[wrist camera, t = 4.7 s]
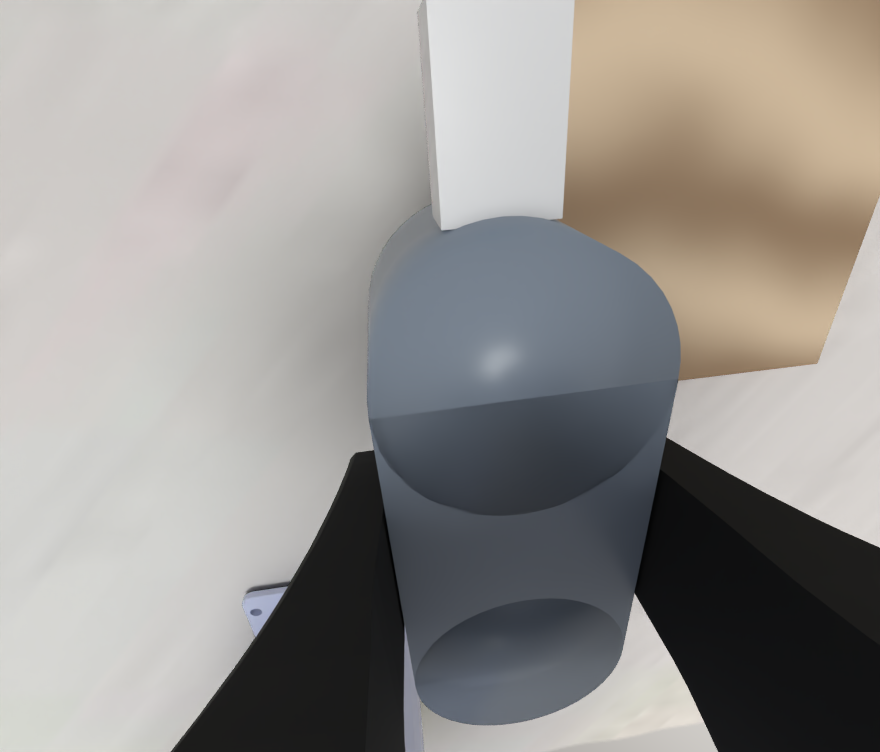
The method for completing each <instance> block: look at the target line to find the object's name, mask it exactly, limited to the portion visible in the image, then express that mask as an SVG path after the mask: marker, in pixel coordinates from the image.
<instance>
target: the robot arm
mask: <svg viewBox="0 0 880 752" xmlns="http://www.w3.org/2000/svg"><path fill="white" fill-rule="evenodd" d="M634 593H635V595H636V596H637V598H638V600H639V602H640V603H641V605H642V607H643V608H644V610H645V612H646V614H647V615H648V617H649V619H650V620H651V622H652V624H653V626H654V627H655V629H656V631H657V632H658V634H659V636H660V638H661V639H662V641H663V643H664V645H665V646H666V648H667V650H668V651H669V653H670V655H671V657H672V658H673V660H674V662H675V664H676V666H677V668H678V670H679V671H680V673H681V675H682V677H683V679H684V681H685V683H686V685H687V686H688V688H689V691H690V693H691V695H692V697H693V699H694V701H695V703H696V705H697V708H698V710H699V712H700V714H701V716H702V718H703V720H704V723H705V725H706V727H707V729H708V731H709V733H710V735H711V737H712V739H713V742H714V744H715V746H716V748H717V750H718V752H880V548H879V547H877V546H875V545H872V544H870V543H868V542H866V541H863V540H861V539H859V538H857V537H854V536H852V535H850V534H848V533H845V532H843V531H841V530H839V529H837V528H834V527H832V526H830V525H828V524H826V523H824V522H822V521H820V520H818V519H816V518H813V517H811V516H809V515H807V514H805V513H804V512H802V511H800V510H798V509H796V508H794V507H792V506H790V505H788V504H786V503H784V502H782V501H780V500H778V499H776V498H774V497H772V496H770V495H768V494H766V493H764V492H762V491H761V490H759V489H757V488H755V487H753V486H751V485H749V484H747V483H746V482H744V481H742V480H740V479H738V478H737V477H735V476H733V475H731V474H729V473H727V472H726V471H724V470H722V469H720V468H719V467H717V466H715V465H713V464H711V463H710V462H708V461H706V460H704V459H703V458H701V457H699V456H697V455H696V454H694V453H692V452H691V451H689V450H687V449H685V448H684V447H682V446H680V445H678V444H677V443H675V442H673V441H672V440H670V439H668V438H666V441H665V446H664V451H663V456H662V461H661V465H660V470H659V475H658V480H657V485H656V490H655V495H654V499H653V504H652V509H651V514H650V519H649V524H648V529H647V533H646V538H645V543H644V548H643V553H642V558H641V563H640V567H639V572H638V577H637V582H636V587H635V592H634ZM242 606H243V609H244V611H245V614H246V616H247V618H248V621H249V623H250V626H251V628H252V630H253V633H254V635H255V639H254V640H253V642H252V643H251V645H250V646H249V648H248V649H247V650H246V652H245V653H244V655H243V656H242V658H241V659H240V661H239V662H238V663H237V665H236V666H235V668H234V669H233V670H232V672H231V673H230V674H229V676H228V677H227V678H226V680H225V681H224V682H223V684H222V685H221V687H220V688H219V689H218V691H217V692H216V693H215V695H214V696H213V697H212V699H211V700H210V701H209V703H208V704H207V706H206V707H205V708H204V710H203V711H202V712H201V714H200V715H199V716H198V718H197V719H196V720H195V721H194V723H193V724H192V725H191V727H190V728H189V729H188V730H187V732H186V733H185V734H184V736H183V737H182V738H181V739H180V741H179V742H178V743H177V744H176V746H175V747H174V748H173V750H172V751H171V752H424V742H423V730H422V718H421V706H420V697H419V696H418V694H417V690H416V687H415V681H414V675H413V670H412V664H411V658H410V653H409V647H408V641H407V635H406V630H405V624H404V618H403V612H402V607H401V601H400V595H399V589H398V584H397V578H396V572H395V567H394V561H393V555H392V549H391V544H390V538H389V532H388V526H387V521H386V515H385V509H384V504H383V498H382V492H381V486H380V481H379V475H378V469H377V463H376V458H375V452H374V450H373V451H365V452H358V453H355V454H354V455H353V457H352V458H351V459H350V462H349V465H348V468H347V471H346V473H345V476H344V478H343V481H342V483H341V485H340V488H339V490H338V492H337V495H336V497H335V499H334V501H333V503H332V506H331V508H330V510H329V512H328V514H327V516H326V518H325V520H324V522H323V524H322V526H321V528H320V530H319V532H318V534H317V536H316V538H315V540H314V542H313V543H312V545H311V547H310V549H309V551H308V553H307V554H306V556H305V558H304V560H303V561H302V563H301V565H300V566H299V568H298V570H297V572H296V573H295V575H294V577H293V578H292V580H291V582H290V584H289V585H288V586H286V587H280V588H273V589H267V590H260V591H253V592H250V593H247V594H246V595H245V596H244V599H243V602H242Z"/></svg>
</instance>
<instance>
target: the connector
mask: <svg viewBox="0 0 880 752" xmlns="http://www.w3.org/2000/svg"><path fill="white" fill-rule="evenodd" d="M574 4H575V0H422V3H421V5H420V7H419V10H418V12H417V14H418V27H419V41H420V54H421V67H422V81H423V94H424V108H425V121H426V134H427V148H428V161H429V175H430V188H431V201H432V204H431V205H429V206H427V207H425V208H423V209H422V210H420V211H419V212H417V213H416V214H414V215H413V216H412V217H410V218H409V219H408V220H407V221H406V222H405V223H403V224H402V225H401V226H400V227H399V229H398V230H397V231H396V232H395V233H394V234H393V235H392V236H391V238H390V239H389V241H388V242H387V244H386V245H385V247H384V248H383V250H382V252H381V254H380V256H379V258H378V260H377V262H376V265H375V268H374V271H373V274H372V278H371V283H370V288H369V305H368V374H367V405H368V416H369V423H370V429H371V435H372V441H373V446H374V452H375V458H376V463H377V469H378V475H379V481H380V486H381V492H382V498H383V504H384V509H385V515H386V521H387V526H388V532H389V538H390V544H391V549H392V555H393V561H394V567H395V572H396V578H397V584H398V589H399V595H400V601H401V607H402V612H403V618H404V624H405V630H406V635H407V641H408V647H409V653H410V658H411V664H412V670H413V675H414V681H415V687H416V690H417V694H418V696H419V697H420V699H421V701H422V702H423V703H424V704H425V705H426V706H427V707H428V708H429V709H430V710H432V711H433V712H434V713H436V714H438V715H440V716H442V717H444V718H447V719H449V720H452V721H456V722H460V723H466V724H472V725H503V724H511V723H518V722H523V721H528V720H532V719H535V718H539V717H542V716H545V715H548V714H551V713H554V712H556V711H558V710H561V709H563V708H565V707H567V706H569V705H571V704H573V703H575V702H577V701H579V700H580V699H582V698H583V697H585V696H587V695H588V694H589V693H591V692H592V691H593V690H595V689H596V688H597V687H598V686H599V685H600V684H601V683H603V682H604V681H605V680H606V678H607V677H608V676H609V675H610V674H611V673H612V671H613V670H614V668H615V667H616V665H617V663H618V661H619V659H620V657H621V653H622V650H623V645H624V640H625V635H626V631H627V626H628V621H629V616H630V611H631V606H632V601H633V597H634V592H635V587H636V582H637V577H638V572H639V567H640V563H641V558H642V553H643V548H644V543H645V538H646V533H647V529H648V524H649V519H650V514H651V509H652V504H653V499H654V495H655V490H656V485H657V480H658V475H659V470H660V465H661V461H662V456H663V451H664V446H665V441H666V436H667V431H668V427H669V422H670V417H671V412H672V407H673V402H674V397H675V393H676V388H677V383H678V378H679V370H680V363H681V343H680V337H679V331H678V325H677V322H676V319H675V316H674V313H673V310H672V308H671V306H670V304H669V302H668V300H667V298H666V296H665V295H664V293H663V291H662V290H661V289H660V287H659V286H658V285H657V284H656V282H655V281H654V280H653V278H652V277H651V276H650V275H648V274H647V273H646V272H645V271H644V270H643V269H642V268H641V267H640V266H639V265H638V264H636V263H635V262H633V261H631V260H630V259H628V258H627V257H625V256H624V255H622V254H621V253H619V252H617V251H615V250H613V249H611V248H609V247H607V246H606V245H604V244H602V243H600V242H598V241H596V240H594V239H592V238H590V237H589V236H587V235H585V234H583V233H581V232H579V231H577V230H575V229H573V228H572V227H570V226H568V225H566V224H564V223H562V222H560V221H558V220H556V219H562V218H563V200H564V182H565V164H566V147H567V129H568V111H569V93H570V75H571V57H572V39H573V21H574Z"/></svg>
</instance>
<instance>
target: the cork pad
mask: <svg viewBox="0 0 880 752" xmlns="http://www.w3.org/2000/svg"><path fill="white" fill-rule="evenodd" d="M879 196H880V0H575V4H574V21H573V39H572V57H571V75H570V93H569V111H568V129H567V147H566V164H565V182H564V200H563V218H562V219H556V220H558V221H560V222H562V223H564V224H566V225H568V226H570V227H572V228H573V229H575V230H577V231H579V232H581V233H583V234H585V235H587V236H589V237H590V238H592V239H594V240H596V241H598V242H600V243H602V244H604V245H606V246H607V247H609V248H611V249H613V250H615V251H617V252H619V253H621V254H622V255H624V256H625V257H627V258H628V259H630V260H631V261H633V262H635V263H636V264H638V265H639V266H640V267H641V268H642V269H643V270H644V271H645V272H646V273H647V274H648V275H650V276H651V277H652V278H653V280H654V281H655V282H656V284H657V285H658V286H659V287H660V289H661V290H662V291H663V293H664V295H665V296H666V298H667V300H668V302H669V304H670V306H671V308H672V310H673V313H674V316H675V319H676V322H677V325H678V331H679V337H680V343H681V363H680V370H679V378H678V381H679V380H687V379H695V378H704V377H712V376H720V375H728V374H736V373H744V372H752V371H760V370H769V369H777V368H785V367H793V366H801V365H809V364H817V363H818V360H819V357H820V355H821V352H822V349H823V347H824V344H825V341H826V338H827V336H828V333H829V330H830V328H831V325H832V322H833V320H834V317H835V314H836V312H837V309H838V306H839V303H840V301H841V298H842V295H843V293H844V290H845V287H846V285H847V282H848V279H849V276H850V274H851V271H852V268H853V266H854V263H855V260H856V258H857V255H858V252H859V250H860V247H861V244H862V241H863V239H864V236H865V233H866V231H867V228H868V225H869V223H870V220H871V217H872V215H873V212H874V209H875V206H876V204H877V201H878V198H879Z"/></svg>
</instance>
